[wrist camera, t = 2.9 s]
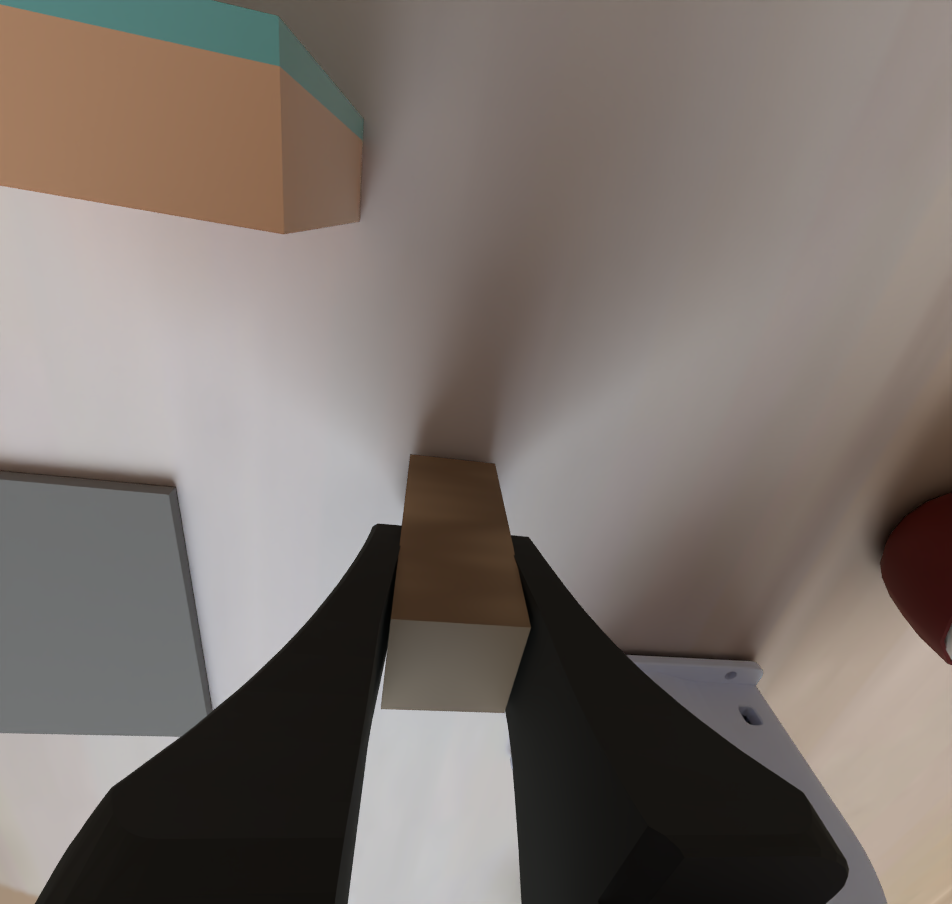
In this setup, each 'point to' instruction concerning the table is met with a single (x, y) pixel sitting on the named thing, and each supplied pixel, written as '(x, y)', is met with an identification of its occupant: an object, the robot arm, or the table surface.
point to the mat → (96, 610)
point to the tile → (175, 113)
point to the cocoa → (923, 572)
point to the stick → (454, 593)
